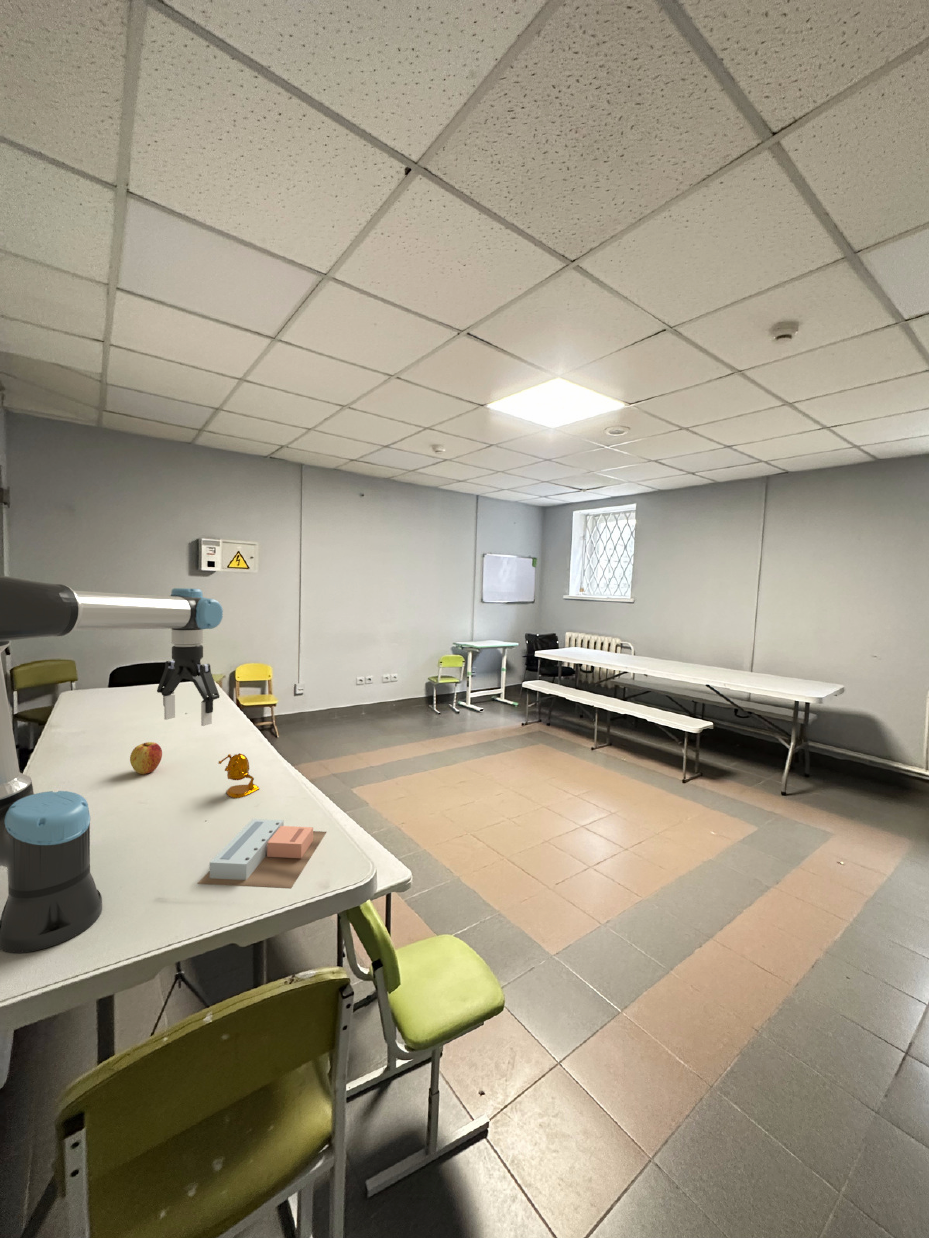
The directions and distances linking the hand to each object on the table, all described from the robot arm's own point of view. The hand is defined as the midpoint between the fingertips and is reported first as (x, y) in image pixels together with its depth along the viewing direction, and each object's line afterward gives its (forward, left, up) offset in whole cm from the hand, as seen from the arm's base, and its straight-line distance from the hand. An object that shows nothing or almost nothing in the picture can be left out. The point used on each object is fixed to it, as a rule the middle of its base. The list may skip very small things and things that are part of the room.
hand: (187, 721), depth 137 cm
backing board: (-21, -32, -25) cm, 46 cm away
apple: (+26, +30, -26) cm, 47 cm away
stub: (-18, -36, -25) cm, 47 cm away
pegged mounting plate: (-21, -27, -25) cm, 43 cm away
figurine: (+14, -8, -26) cm, 30 cm away
